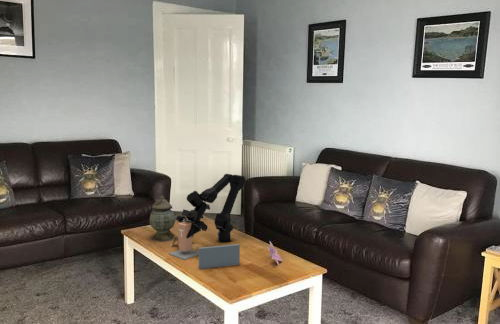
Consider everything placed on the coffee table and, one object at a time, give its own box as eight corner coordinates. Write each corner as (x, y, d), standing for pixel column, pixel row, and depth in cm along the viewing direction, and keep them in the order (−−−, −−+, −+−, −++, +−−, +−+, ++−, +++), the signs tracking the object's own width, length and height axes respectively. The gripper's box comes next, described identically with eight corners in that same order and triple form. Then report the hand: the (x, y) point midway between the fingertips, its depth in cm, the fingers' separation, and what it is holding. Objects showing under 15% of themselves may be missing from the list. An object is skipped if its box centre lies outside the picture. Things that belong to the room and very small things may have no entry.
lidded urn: (170, 242, 256) (169, 199, 252) (146, 240, 258) (145, 197, 255) (179, 235, 269) (178, 193, 265) (156, 233, 272) (155, 192, 268)
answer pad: (186, 248, 246) (186, 247, 246) (201, 253, 239) (201, 252, 239) (168, 254, 237) (168, 253, 237) (184, 260, 230) (184, 258, 229)
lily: (268, 271, 219) (278, 254, 218) (252, 256, 226) (262, 240, 225) (281, 271, 229) (291, 255, 227) (266, 256, 236) (276, 241, 234)
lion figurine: (191, 240, 259) (191, 225, 258) (196, 243, 255) (196, 227, 254) (169, 246, 249) (169, 230, 248) (174, 248, 246) (174, 232, 244)
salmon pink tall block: (185, 246, 241) (185, 221, 239) (192, 249, 238) (191, 223, 236) (178, 249, 237) (177, 223, 235) (184, 251, 234) (184, 225, 232)
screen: (238, 263, 226) (238, 244, 224) (239, 264, 224) (239, 245, 223) (198, 267, 220) (198, 247, 218) (199, 268, 218) (199, 248, 217)
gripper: (178, 200, 243) (162, 225, 236) (203, 206, 231) (187, 232, 224) (189, 211, 250) (174, 236, 243) (214, 218, 238) (199, 243, 232)
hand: (183, 236), depth 235 cm, fingers closed on salmon pink tall block, 5 cm apart
